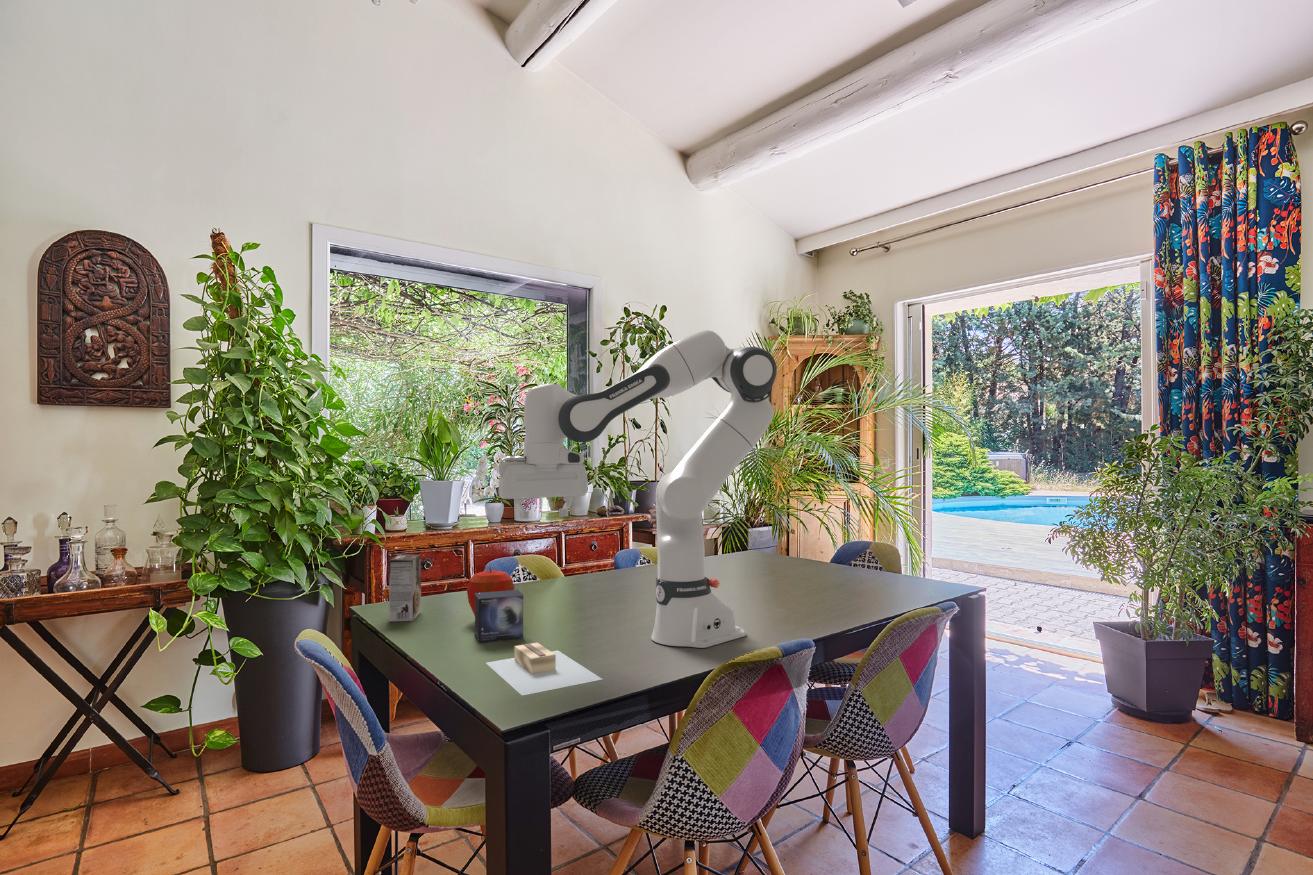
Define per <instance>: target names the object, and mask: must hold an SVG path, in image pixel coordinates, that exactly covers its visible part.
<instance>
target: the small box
mask: <svg viewBox="0 0 1313 875" xmlns="http://www.w3.org/2000/svg"><path fill="white" fill-rule="evenodd" d="M473 636H474V637H475V639H476V641H477V643H479V644H481V643H482V642H483V643H490V642H491V643H492V642H499V640H501V641H508V640H510V641H511V640H519V639H518V638H520V639H524V594H523V592H521V591H520V590H519V589H514V590H508V591H496V592H483V593H475V615H474V634H473Z"/></svg>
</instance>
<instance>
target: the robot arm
mask: <svg viewBox="0 0 1313 875" xmlns="http://www.w3.org/2000/svg"><path fill="white" fill-rule="evenodd" d="M777 371H778V367H777V363H776V360H775V359H774V357H773V355H772V354H771V353H770V352H768V351H767V350H765V349H764V348H762V347H758V346H742V347H741V346H740V347H737V348H730V347H728V346H726V344H725V342H724V340H723V339H722V337H721V336H720V335H719V334H718V333H716V332H714V331H713V330H709V329H708V330H707V329H706V330H702V331H699V332H695V333H692V334H690V335H687V336H685V337H683V338H681V339H679V340H676V341H675V342H673V343H671V344H669V345H667V346H665V347H664V348H662V349H660V350H659V351H657V352H655V354H653V355H652V356H650V358H649V359H648V360H645V362H644V364H643V365H642V366H641V367H640V368H639V369H637V370H636V372H634V373H633V374H631V375H629V376H628V377H626V378H623V380H620V381H618V382H616V383H615V384H613V385H610V386H609V387H607V388H605V389H603V390H602V391H599V392H595V393H594V392H593V393H586V394H574V393H572V392H571V391H568V390H567V389H565V388H564V387H562V386H561V385H560V384H559V383H546V384H539V385H536V386H534V387H531V388H530V389H529V390H528V391H527V393H526V394H525V399H524V410H523V425H524V428H525V437H524V439H523V443H524V444H523V456H505V457H504V458H503V459H501V460H500V461H499V463H498V474H499V475H500V476H499V481H498V495H499V497H500V498H501V499H503V500H514V505H515V507H516V508H517V510H518V511H519V519H520V520H528V519H529V518H530V517H529V515H530V514H529V512H530V511H529V510H525V508H524V506H523V505H522V504H524V503H525V501H524V500H525V499H539V498H540V499H541V498H544V499H545V498H562V497H563V502H564V504H563V506H562V508H558V511H559V515H558V516H559V517H561V518H563V517H564V518H565V517H567V518H568V516H569V509H570V507H571V505H572V503H573V502H574V497H584V496H585V495H586V494H587V493H588V491H589V483H588V482H589V481H588V474H587V470H586V467H585V465H583V463H585V462H584V461H585V456H584V455H583V454H582V453H579V452H576V451H573V450H571V449H567V448H565V444H564V443H565V442H564V441H565V439H567V438H568V439H569V440H571V441H573V442H576V443H587V442H588V443H589V442H592V441H594V440H596V439H597V438H598V437H599V436H600V435H601V434H602V433H603V432H604V430H605V429H606V428H607V427H608V424H609V423H611V421H613V420H614V419H615V418H618V416H620V415H622V414H624V413H625V412H627V411H629V410H631V409H633V408H635V407H637V406H639V405H640V404H642V403H644V402H646V401H649V400H651V399H658V398H660V399H661V398H662V399H663V398H669V397H673V396H675V395H679V394H681V393H683V392H685V391H687V390H689V389H692V388H693V387H695V386H697V385H698V384H700V383H702V382H704V381H705V380H708V379H712V380H713V381H714V382H715V383H716V384H717V386H719V388H721V389H722V390H723V391H725V392H728V393H729V394H730V399H729V401H728V404H727V405H726V407H725V409H724V410H723V411H722V412H721V413H720V414H719V415H718V416H717V418H716V419H715V420H714V421H713V422H712V423H711V424H710V425H709V427H707V429H705V431H704V432H703V433H702V435H700V436H699V438H698V439H697V440H696V441H695V443H694V444H693V445H692V447H691V448H690V449H689V450H688V452H687V453H686V454H685V455H684V457H683V458H682V459H681V461H680V462H679V463H678V464H677V466H675V468H674V469H673V470H672V471H670V472H668V473H666V474H665V475H663V476H662V477H661V478H660V480H659V481H658V483H657V485H656V489H655V512H656V514H655V517H656V540H657V541H656V542H657V577H655V598H656V611H655V620H654V625H653V630H652V633H651V636H650V638H651V640H652V641H653V642H655V643H658V644H661V645H666V646H673V647H689V648H690V647H691V648H697V649H698V648H700V649H705V648H709V647H712V646H715V645H720V644H722V643H726V642H729V641H733V640H736V639H739V638H743V637H746V631H745V629H744V628H742V627H740V626H738V625H736V620H735V619H736V618H735V614H734V611H733V609H732V608H731V607H730V605H728V604H726V603H725V602H724V601H723V600H722V599H720V598H719V597H718V596H716V595H715V594H714V593H712V590H711V589H712V588H714V589H717V588H719V586H720V580H719V579H717V578H716V579H715V578H713V577H712V578H710V579H709V578H708V577H706V576H705V575H706V574H705V573H706V572H705V566H706V565H705V563H706V562H705V556H706V555H705V538H704V528H703V514H702V513H703V511H704V510H705V509H706V507H708V505H709V504H710V503H711V501H712V500H713V498H714V497H715V496H716V495H717V493H718V492H719V490H720V489H721V488H722V486H723V485H724V483H725V482H726V480H727V479H728V478H729V477H730V476H731V474H732V473H733V472H734V470H736V468H737V467H738V466H739V464H740V463H741V462H743V460H744V459H745V458H746V456H748V454H750V452H751V451H752V450H753V448H754V447H755V446H756V445H757V444H758V442H759V441H760V440H761V439H762V437H763V435H764V434H765V432H766V431H767V430H768V428H769V426H770V425H771V423H772V421H773V419H774V415H775V411H774V408H773V405H772V404H771V402H770V401H769V400H768V398H770V396H771V394H772V390H773V386H774V383H775V381H776V378H777Z"/></svg>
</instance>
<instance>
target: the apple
mask: <svg viewBox="0 0 1313 875" xmlns="http://www.w3.org/2000/svg"><path fill="white" fill-rule="evenodd" d="M508 590H515V584H514V581H513V579H512V577H511V576H510V575H509V574H508V573H507V572H506V571H501V570H494V569H493V570H492V567H489V570H483V571H480V572H477V573H474V574H473V575H472V577H470V578H469V580H468V583H467V588H466V592H467V594H466V595H467V600H468V604H469V606H470V608H471V610H472V613H473V615H474V616H475V593H483V592H496V591H508Z"/></svg>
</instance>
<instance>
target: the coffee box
mask: <svg viewBox="0 0 1313 875" xmlns="http://www.w3.org/2000/svg"><path fill="white" fill-rule="evenodd" d="M421 556H422V555H421V554H396V556H394V557H391V558H390V559H389V561H388V578H389V579H388V581H389V582H388V585H389V586H388V588H389V590H388V591H389V592H388V595H389V596H388V614H389V616H388V622H413V621H414V620H415V619H417V617H418V616H419V615H420V614H421V613H422V563H421V562H422V560H421V559H422V558H421Z"/></svg>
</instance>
